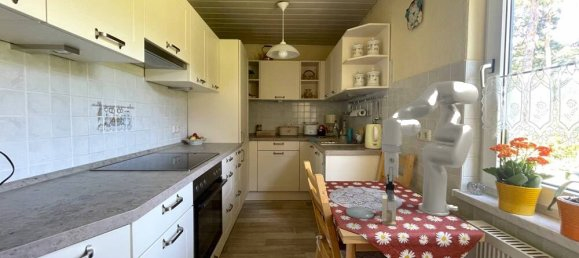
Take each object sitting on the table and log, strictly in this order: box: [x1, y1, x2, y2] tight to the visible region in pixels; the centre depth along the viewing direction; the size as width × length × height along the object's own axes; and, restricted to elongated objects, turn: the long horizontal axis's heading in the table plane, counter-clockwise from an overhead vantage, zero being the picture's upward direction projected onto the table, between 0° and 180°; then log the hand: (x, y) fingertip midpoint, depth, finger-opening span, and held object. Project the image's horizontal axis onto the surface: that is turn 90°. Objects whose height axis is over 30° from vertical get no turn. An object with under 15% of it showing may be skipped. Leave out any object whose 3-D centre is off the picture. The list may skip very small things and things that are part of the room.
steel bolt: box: [386, 190, 395, 211], centre depth 99 cm, size 2×16×3 cm, turn 161°
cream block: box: [381, 194, 398, 222], centre depth 114 cm, size 6×6×9 cm
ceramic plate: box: [345, 206, 375, 220], centre depth 118 cm, size 12×12×1 cm
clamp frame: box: [381, 193, 397, 227], centre depth 113 cm, size 5×17×10 cm, turn 161°
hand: (389, 193), depth 108 cm, fingers closed
